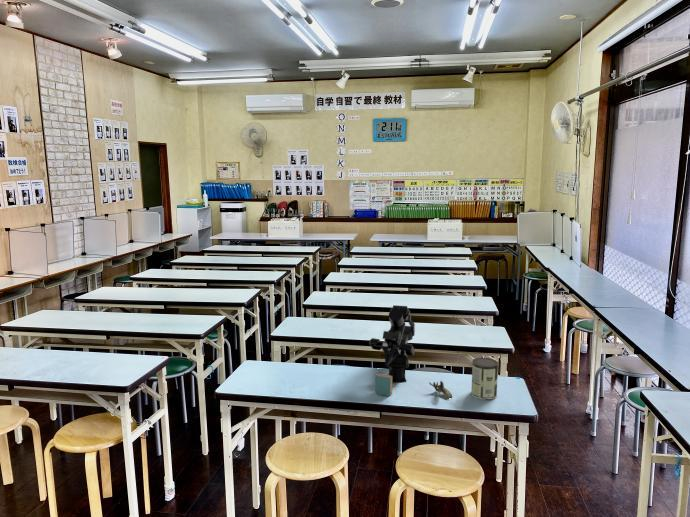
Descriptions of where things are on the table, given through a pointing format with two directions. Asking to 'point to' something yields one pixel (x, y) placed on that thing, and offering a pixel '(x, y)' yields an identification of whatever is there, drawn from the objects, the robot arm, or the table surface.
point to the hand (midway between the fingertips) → (386, 365)
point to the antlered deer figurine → (441, 389)
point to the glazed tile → (383, 384)
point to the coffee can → (484, 378)
